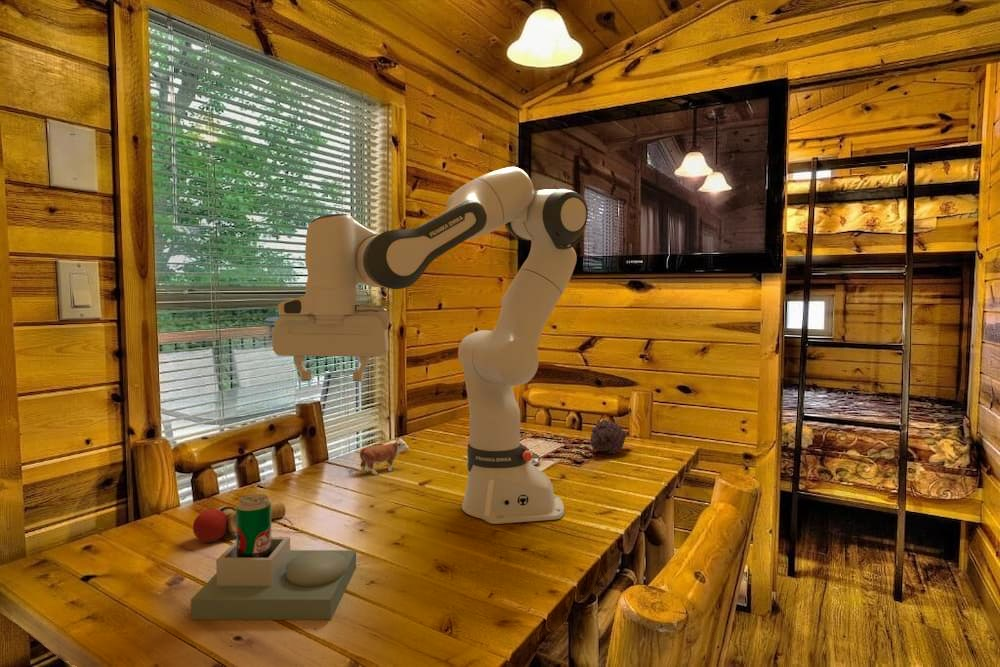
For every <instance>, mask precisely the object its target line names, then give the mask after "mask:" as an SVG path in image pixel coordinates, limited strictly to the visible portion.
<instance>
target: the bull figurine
mask: <svg viewBox="0 0 1000 667" xmlns="http://www.w3.org/2000/svg"><path fill="white" fill-rule="evenodd" d="M408 450H409V446H408V445H407V443H406V442H405V441H404V440H403V439H402V438H399V439H398V440H394V439H393V440H390V441H389V442H385V443H383V444H380V445H374V446H369V447H363V448H362V449H361V450H360V452H359V458H360V460H361V463H360V468H361V473H363V475H364V474H366V475H367V472H369V471H371V473H372V474H373V475H378V474H379V472H377V470H376V469H375V468H374V463H375V464H376V465H377V466H379V465H380V463H383V462H387V465H388V468H387V471H388V472H393V470H392V469H393V468H394V467H393V462H394V460H395V459H396V458H397V457H398V455H399V454H400V453H401V452H403V451H408Z"/></svg>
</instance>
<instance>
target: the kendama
mask: <svg viewBox="0 0 1000 667" xmlns="http://www.w3.org/2000/svg"><path fill="white" fill-rule="evenodd" d="M285 515H286V506H285V504H284V503H281V502H279V503H277V504H271V520H272V519H281V518H284V517H285ZM192 532H193V534H194V536H195V537H196V539H197V540H198V541H200V542H202V543H205V544H206V543H207V544H209V543H213V542H217V541H218V540H220V539H221V538H222V537H224V536H225V535H226V534H227V533H229V532H231V533H233V534H236V507H233V506H230V505H222V506H220V507H218V508H217V509H215V508H210V509H206V510H203V511H202V512H200V513H199V514H198V515H197V516H196V518H195V519H194V522H193V524H192Z"/></svg>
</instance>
